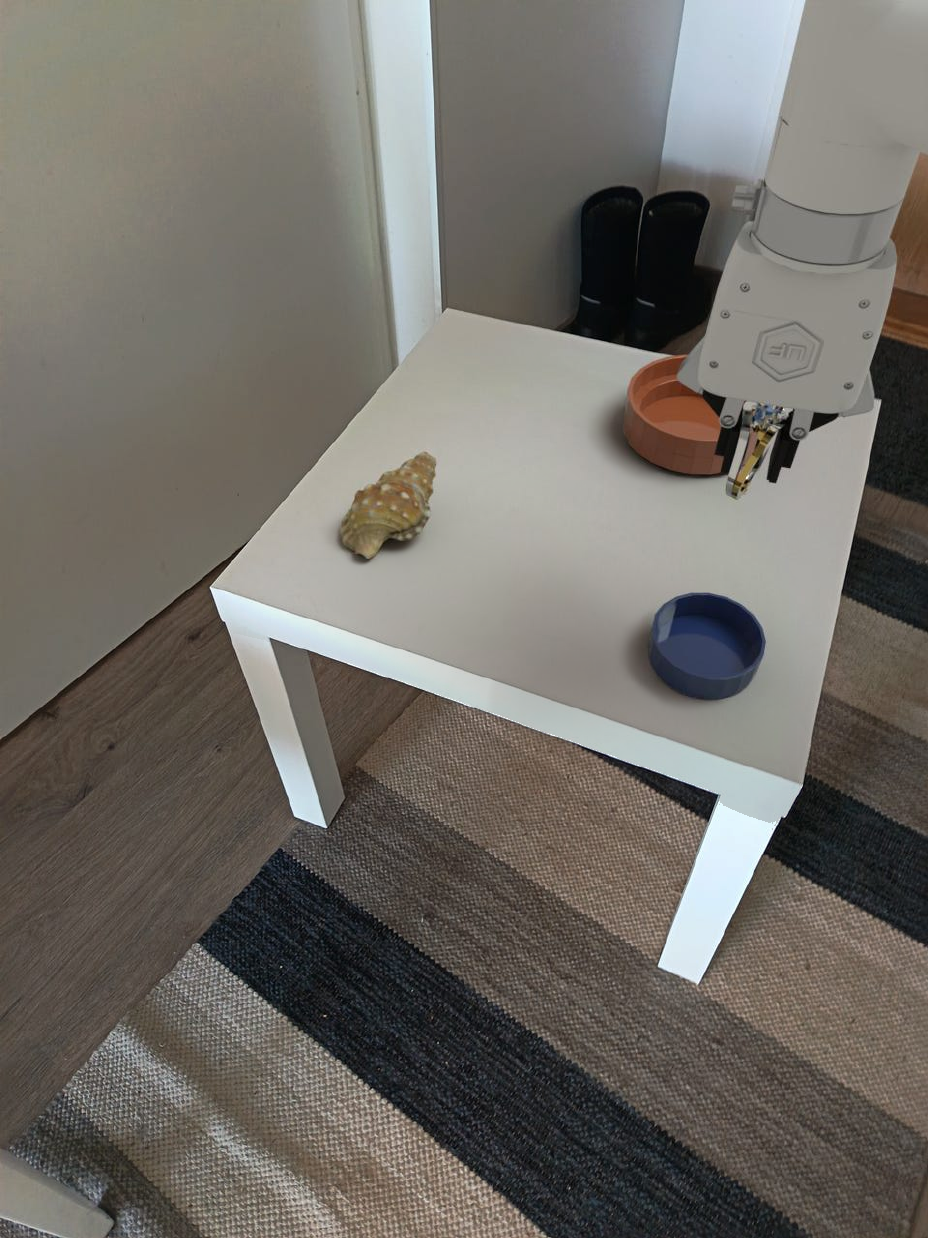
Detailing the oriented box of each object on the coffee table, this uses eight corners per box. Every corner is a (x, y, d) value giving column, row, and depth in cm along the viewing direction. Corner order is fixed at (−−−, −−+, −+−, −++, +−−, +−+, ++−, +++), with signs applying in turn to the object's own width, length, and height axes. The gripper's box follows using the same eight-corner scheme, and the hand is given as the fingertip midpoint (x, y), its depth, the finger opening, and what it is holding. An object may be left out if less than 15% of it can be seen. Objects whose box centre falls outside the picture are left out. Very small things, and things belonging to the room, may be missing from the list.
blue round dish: (762, 628, 77) (771, 606, 75) (749, 712, 72) (758, 691, 69) (658, 603, 79) (663, 582, 77) (637, 683, 74) (642, 662, 71)
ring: (740, 526, 63) (769, 438, 56) (700, 508, 64) (724, 421, 58) (779, 474, 66) (810, 386, 60) (740, 458, 67) (767, 371, 61)
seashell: (363, 520, 92) (389, 432, 87) (431, 551, 90) (460, 463, 86) (323, 544, 83) (349, 449, 79) (397, 578, 82) (428, 483, 78)
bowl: (768, 405, 97) (780, 367, 94) (751, 491, 88) (763, 453, 85) (637, 382, 101) (643, 344, 97) (609, 462, 92) (614, 424, 88)
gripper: (670, 230, 49) (630, 478, 63) (980, 268, 45) (863, 522, 59) (690, 173, 53) (649, 417, 67) (974, 204, 49) (867, 454, 64)
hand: (750, 464), depth 63 cm, fingers closed on ring, 2 cm apart
